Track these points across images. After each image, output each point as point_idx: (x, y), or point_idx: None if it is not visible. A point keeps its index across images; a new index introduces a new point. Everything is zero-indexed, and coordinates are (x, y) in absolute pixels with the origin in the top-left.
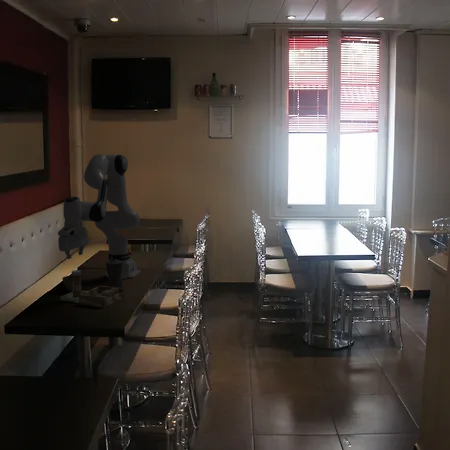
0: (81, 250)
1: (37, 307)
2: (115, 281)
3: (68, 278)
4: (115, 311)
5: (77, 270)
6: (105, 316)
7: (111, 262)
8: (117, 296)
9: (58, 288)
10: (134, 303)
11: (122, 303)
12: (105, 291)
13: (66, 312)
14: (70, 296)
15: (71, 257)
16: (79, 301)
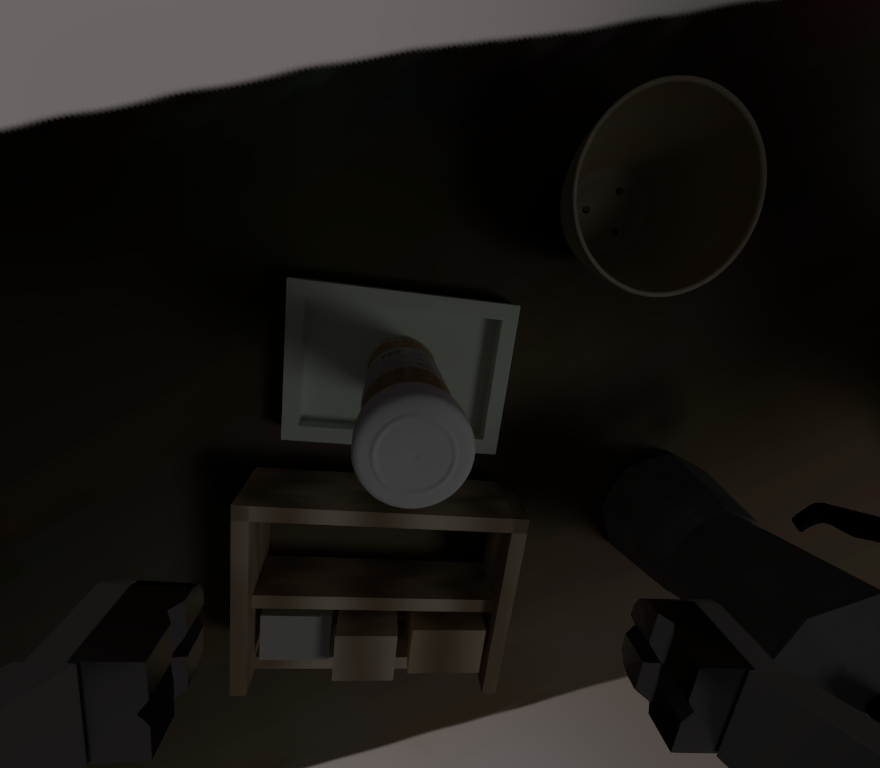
0: (753, 757)
1: (62, 181)
2: (653, 573)
3: (712, 118)
4: (208, 719)
5: (447, 457)
6: None
7: None
8: None
9: (641, 40)
10: (383, 733)
11: (365, 682)
12: (359, 650)
13: (58, 476)
14: (390, 316)
15: (189, 678)
16: (249, 477)
